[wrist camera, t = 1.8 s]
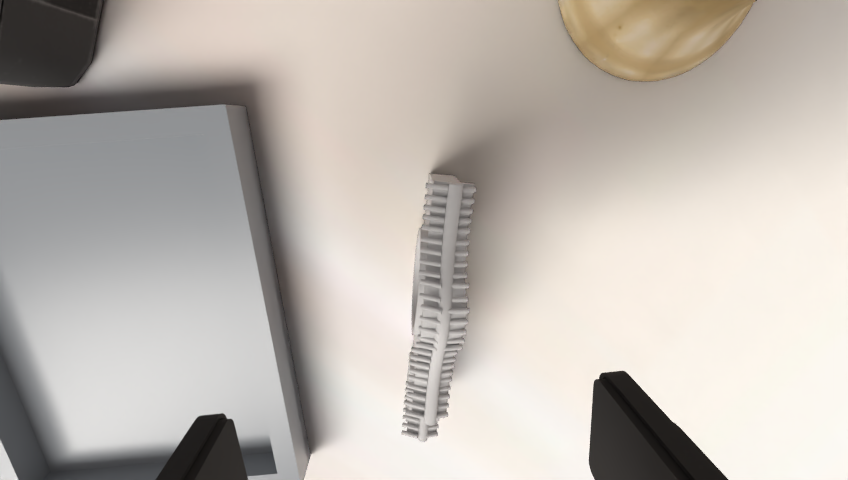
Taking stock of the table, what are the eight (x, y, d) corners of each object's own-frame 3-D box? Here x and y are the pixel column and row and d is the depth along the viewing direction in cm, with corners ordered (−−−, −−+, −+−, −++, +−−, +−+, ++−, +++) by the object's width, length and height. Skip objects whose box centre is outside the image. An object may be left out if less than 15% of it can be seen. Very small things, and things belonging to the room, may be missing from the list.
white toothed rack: (435, 397, 21) (446, 498, 16) (400, 396, 21) (399, 497, 15) (460, 168, 18) (486, 190, 12) (420, 164, 18) (427, 185, 12)
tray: (245, 106, 17) (225, 104, 15) (310, 455, 22) (301, 487, 20) (-101, 130, 16) (-168, 131, 14) (47, 479, 22) (12, 514, 20)
